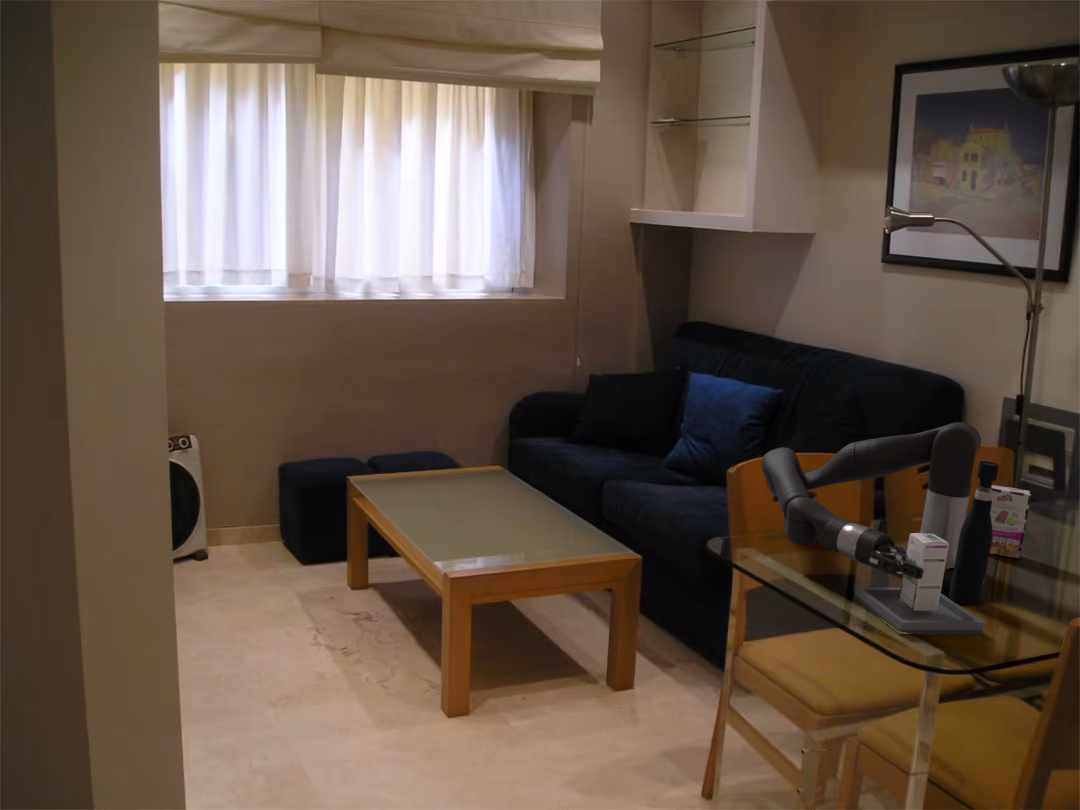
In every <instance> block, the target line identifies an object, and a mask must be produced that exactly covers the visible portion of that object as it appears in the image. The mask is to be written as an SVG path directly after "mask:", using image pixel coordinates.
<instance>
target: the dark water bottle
mask: <svg viewBox="0 0 1080 810" xmlns="http://www.w3.org/2000/svg"><path fill="white" fill-rule="evenodd" d="M999 467H1000V465H999V464H998V463H996V462H992V461H988V460H987V461H985V460H980V461H979V463H978V468H977V474H976V477H977V478H978V479H979V482H978V485H977V486H978V487H977V488H976V490H975V494H974V497H973V498H972V503H971V504H972V505H971V509H970V510H969V512H968V514H967V515H966V519H965V521H964V523H963V526H962V528H961V531H960V536H959V542H958V548H957V553H956V559H955V564H954V569H953V571H952V577H951V582H950V589H949V594H948V598H949V599H950V600H952V601H953V602H957V603H960V604H964V605H969V606H970V605H971V606H975V605H976V606H977V605H980V604H981V602H982V595H983V592H984V591H983V590H984V585H985V580H986V575H987V570H988V564H989V558H990V555H991V554H990V549H991V543H992V522H991V516H990V511H991V505H992V500H991V498H992V497H991V495H992V491H990V490H991V489H992V485H993V482H996V481H997V480H998V474H999V469H1000V468H999Z"/></svg>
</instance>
